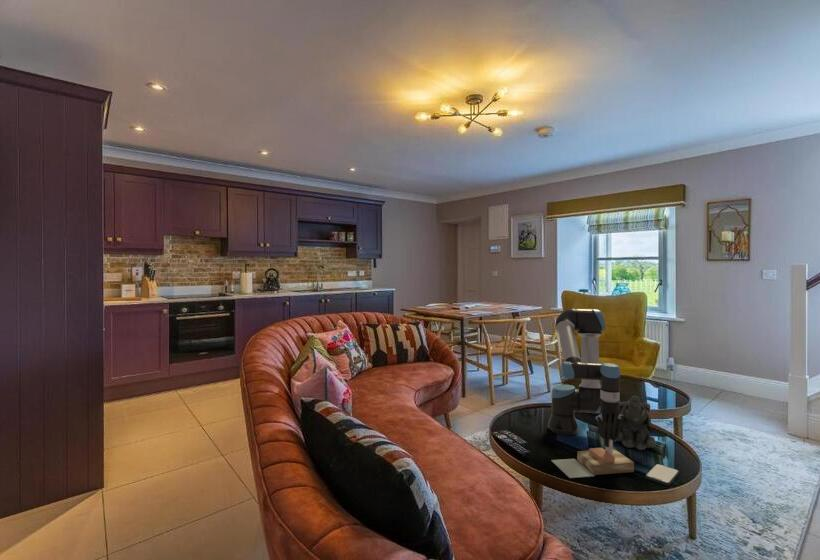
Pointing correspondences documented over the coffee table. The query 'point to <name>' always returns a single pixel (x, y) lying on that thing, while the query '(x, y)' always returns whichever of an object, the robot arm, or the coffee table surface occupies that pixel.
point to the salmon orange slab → (601, 455)
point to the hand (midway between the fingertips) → (608, 453)
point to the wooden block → (597, 467)
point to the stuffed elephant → (635, 424)
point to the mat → (572, 468)
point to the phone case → (662, 474)
